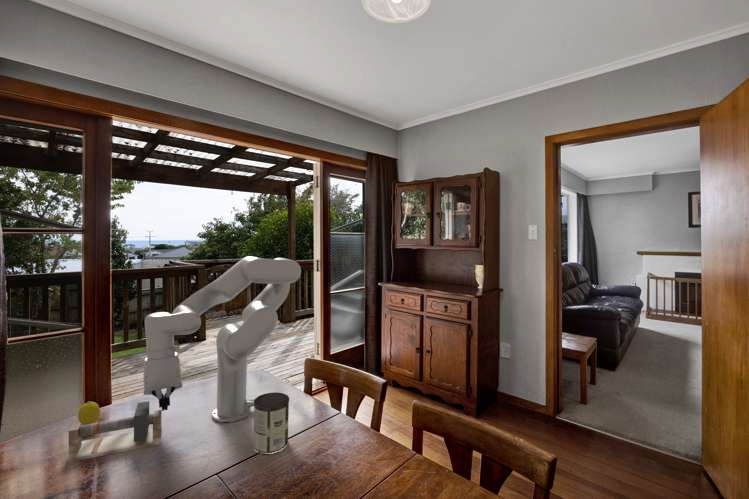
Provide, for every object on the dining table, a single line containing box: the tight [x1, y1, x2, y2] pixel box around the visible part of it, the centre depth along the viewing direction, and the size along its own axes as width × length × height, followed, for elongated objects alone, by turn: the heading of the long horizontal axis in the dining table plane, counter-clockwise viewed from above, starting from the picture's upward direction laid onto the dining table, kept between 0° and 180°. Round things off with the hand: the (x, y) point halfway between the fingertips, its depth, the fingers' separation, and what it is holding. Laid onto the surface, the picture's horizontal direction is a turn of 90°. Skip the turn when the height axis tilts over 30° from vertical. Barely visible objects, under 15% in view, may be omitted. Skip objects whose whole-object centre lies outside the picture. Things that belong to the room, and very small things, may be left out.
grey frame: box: [133, 401, 150, 442], centre depth 111 cm, size 3×9×8 cm, turn 26°
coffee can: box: [253, 391, 290, 453], centre depth 111 cm, size 10×10×14 cm
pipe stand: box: [65, 409, 163, 463], centre depth 108 cm, size 22×9×8 cm, turn 116°
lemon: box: [77, 401, 101, 425], centre depth 118 cm, size 6×6×8 cm
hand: (164, 408), depth 116 cm, fingers closed
